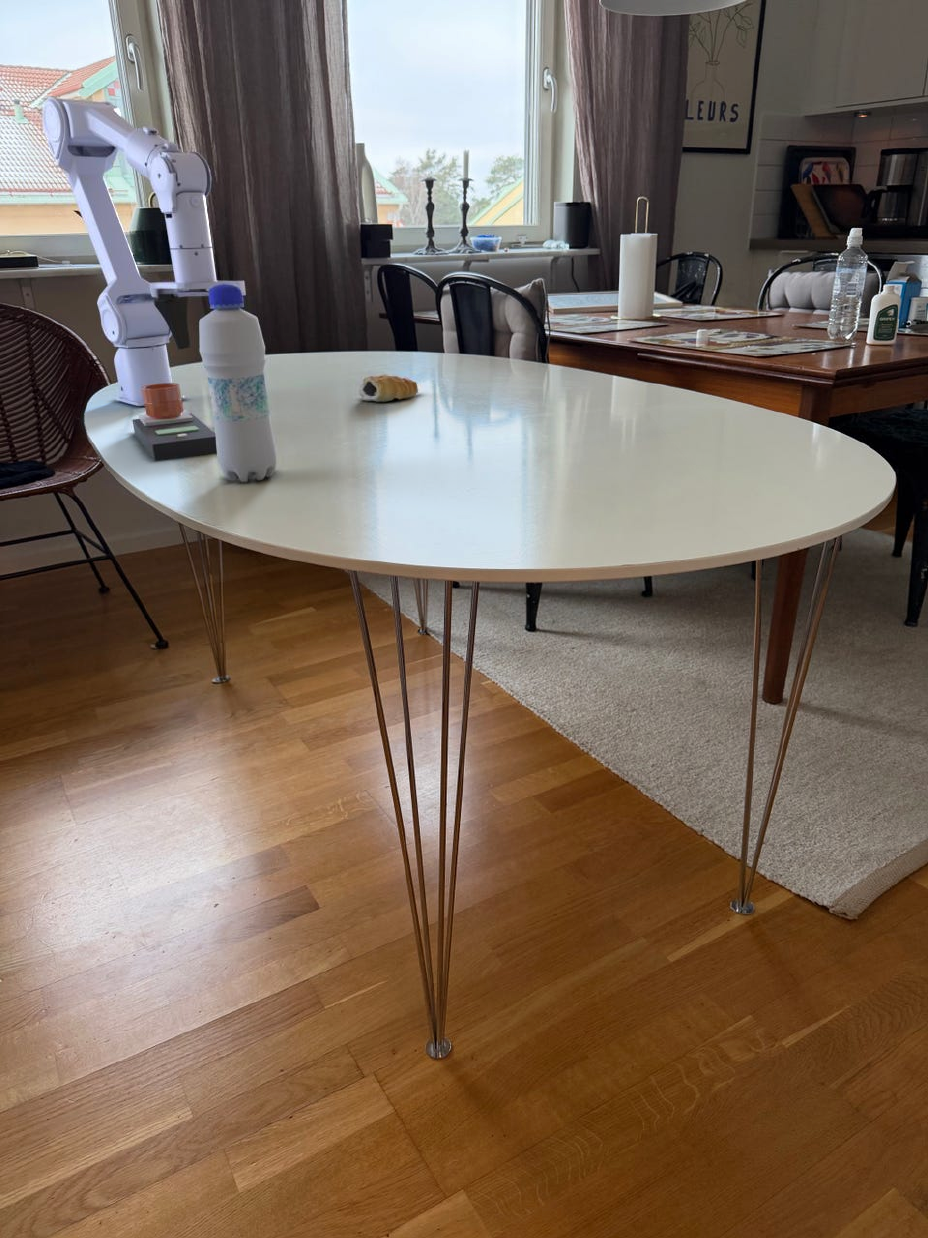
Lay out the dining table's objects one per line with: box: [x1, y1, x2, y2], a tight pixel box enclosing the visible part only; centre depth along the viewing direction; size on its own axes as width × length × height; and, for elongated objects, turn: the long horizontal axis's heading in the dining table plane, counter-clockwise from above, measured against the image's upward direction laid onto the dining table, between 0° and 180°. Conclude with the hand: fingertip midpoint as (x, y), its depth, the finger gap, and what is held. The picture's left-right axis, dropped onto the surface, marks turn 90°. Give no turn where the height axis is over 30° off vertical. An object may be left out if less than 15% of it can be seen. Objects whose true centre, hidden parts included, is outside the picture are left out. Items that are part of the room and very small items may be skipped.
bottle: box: [198, 284, 277, 483], centre depth 91 cm, size 7×7×20 cm
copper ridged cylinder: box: [141, 382, 184, 419], centre depth 115 cm, size 5×5×4 cm
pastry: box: [359, 374, 419, 403], centre depth 136 cm, size 9×7×4 cm
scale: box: [131, 409, 217, 462], centre depth 112 cm, size 18×8×2 cm, turn 27°
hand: (206, 348), depth 126 cm, fingers open, 7 cm apart
